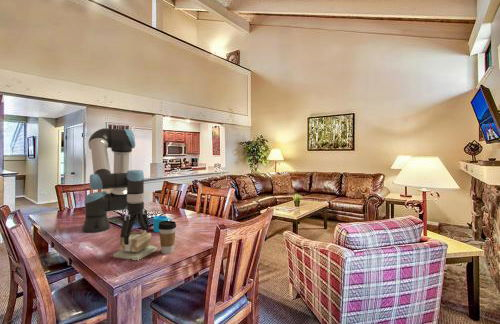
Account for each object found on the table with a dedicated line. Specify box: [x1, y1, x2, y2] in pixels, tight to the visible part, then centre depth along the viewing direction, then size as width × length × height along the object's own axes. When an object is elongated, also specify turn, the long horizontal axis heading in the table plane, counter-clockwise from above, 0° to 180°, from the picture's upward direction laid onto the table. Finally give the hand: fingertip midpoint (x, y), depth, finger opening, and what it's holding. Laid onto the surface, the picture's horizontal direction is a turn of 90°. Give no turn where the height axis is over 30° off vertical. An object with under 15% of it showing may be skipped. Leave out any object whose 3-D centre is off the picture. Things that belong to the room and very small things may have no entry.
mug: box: [152, 215, 173, 233], centre depth 164 cm, size 12×8×8 cm
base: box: [113, 234, 158, 261], centre depth 127 cm, size 14×14×8 cm
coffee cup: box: [158, 220, 177, 255], centre depth 129 cm, size 8×8×15 cm
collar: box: [119, 230, 152, 252], centre depth 127 cm, size 10×10×6 cm
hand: (135, 246), depth 127 cm, fingers closed on collar, 10 cm apart
